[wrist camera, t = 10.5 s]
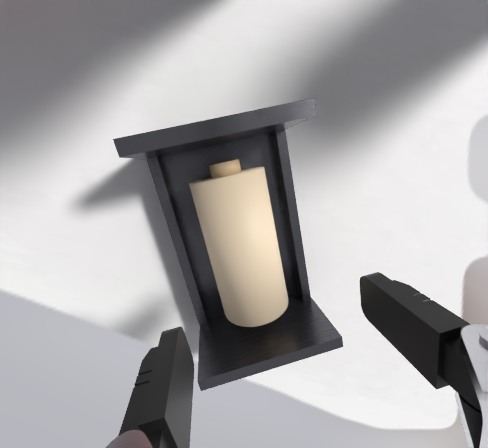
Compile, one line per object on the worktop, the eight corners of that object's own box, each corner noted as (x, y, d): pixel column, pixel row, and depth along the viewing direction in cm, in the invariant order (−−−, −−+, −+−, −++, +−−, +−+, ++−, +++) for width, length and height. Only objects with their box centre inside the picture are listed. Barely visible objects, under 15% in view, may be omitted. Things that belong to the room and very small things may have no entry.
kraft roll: (190, 169, 21) (179, 172, 15) (255, 154, 21) (268, 153, 15) (226, 301, 25) (228, 344, 19) (281, 288, 25) (299, 326, 19)
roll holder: (147, 148, 21) (113, 139, 13) (277, 120, 22) (314, 98, 14) (202, 325, 26) (200, 391, 18) (305, 295, 27) (343, 346, 19)
